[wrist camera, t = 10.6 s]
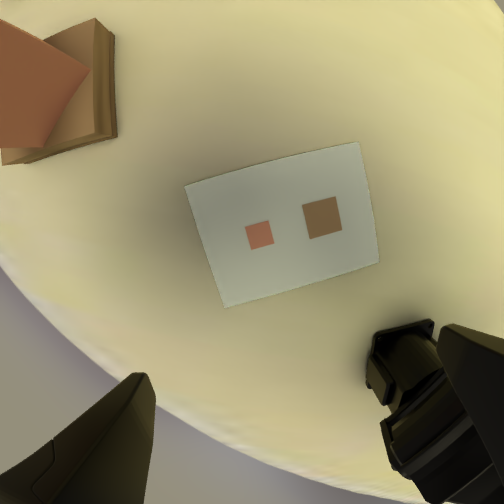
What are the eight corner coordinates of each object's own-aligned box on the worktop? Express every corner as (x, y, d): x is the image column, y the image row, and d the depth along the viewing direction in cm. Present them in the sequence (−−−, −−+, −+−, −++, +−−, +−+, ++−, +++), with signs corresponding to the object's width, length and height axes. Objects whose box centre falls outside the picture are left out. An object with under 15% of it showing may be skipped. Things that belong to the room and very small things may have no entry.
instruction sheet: (357, 141, 18) (359, 141, 18) (378, 261, 21) (380, 262, 21) (184, 185, 18) (183, 186, 18) (224, 307, 21) (224, 308, 21)
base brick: (114, 35, 15) (96, 16, 11) (117, 137, 17) (95, 133, 14) (28, 70, 14) (3, 61, 11) (29, 163, 17) (1, 166, 13)
